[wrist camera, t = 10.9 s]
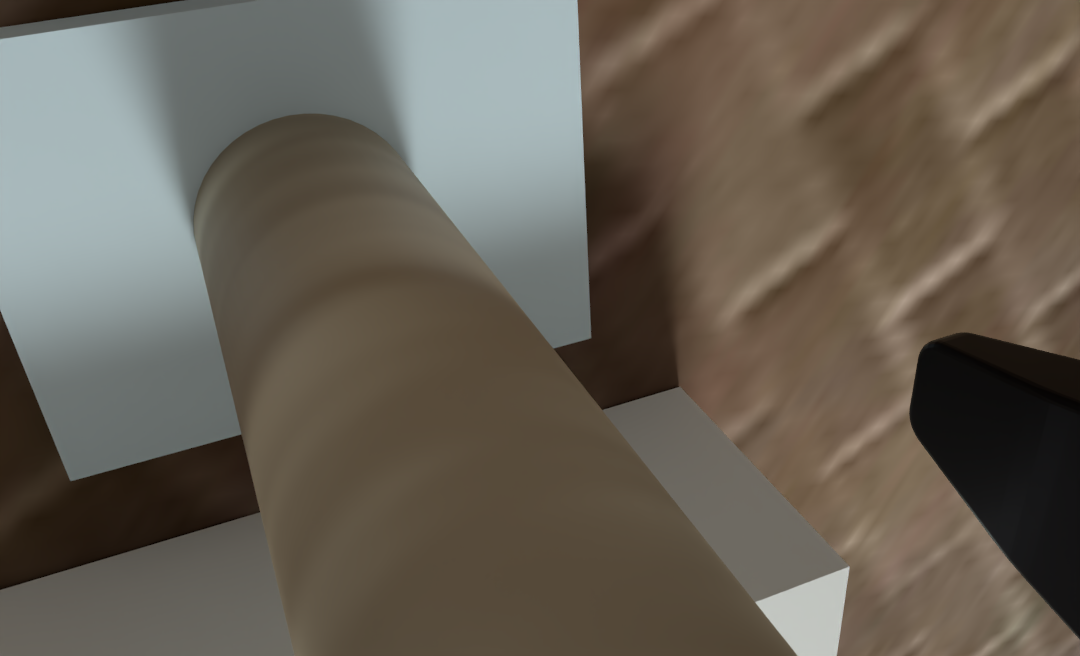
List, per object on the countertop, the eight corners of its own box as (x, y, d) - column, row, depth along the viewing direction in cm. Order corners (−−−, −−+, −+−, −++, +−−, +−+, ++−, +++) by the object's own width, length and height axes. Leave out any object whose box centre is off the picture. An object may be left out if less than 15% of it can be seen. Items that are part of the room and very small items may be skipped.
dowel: (223, 343, 14) (430, 1180, 6) (166, 138, 12) (339, 899, 4) (430, 292, 15) (863, 955, 7) (402, 94, 13) (928, 650, 5)
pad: (70, 456, 14) (69, 481, 14) (-98, 41, 11) (-105, 54, 11) (576, 321, 17) (591, 338, 16) (557, -55, 13) (575, -47, 13)
